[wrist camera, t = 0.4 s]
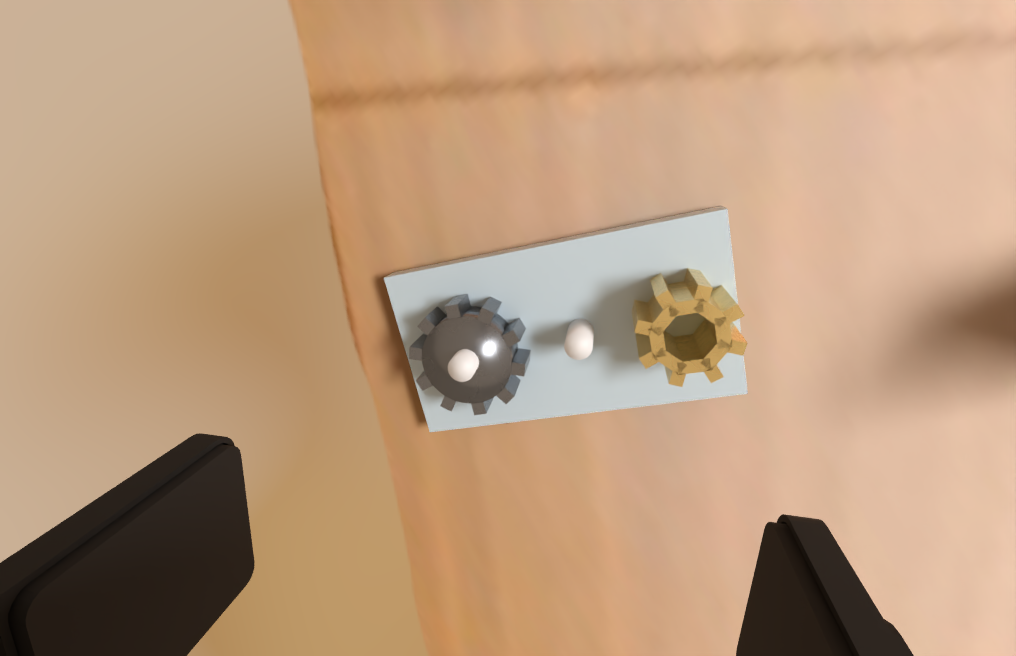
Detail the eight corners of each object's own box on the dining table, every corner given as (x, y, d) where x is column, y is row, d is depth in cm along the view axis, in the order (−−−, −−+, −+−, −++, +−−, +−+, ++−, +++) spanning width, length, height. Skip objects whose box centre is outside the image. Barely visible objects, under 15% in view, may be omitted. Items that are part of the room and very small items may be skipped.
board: (393, 272, 44) (358, 292, 38) (721, 205, 38) (742, 216, 32) (436, 421, 48) (411, 460, 42) (741, 382, 42) (763, 422, 36)
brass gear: (626, 279, 39) (628, 296, 34) (723, 261, 37) (740, 277, 33) (640, 363, 41) (644, 391, 36) (734, 350, 39) (751, 378, 34)
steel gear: (410, 304, 43) (396, 315, 40) (515, 284, 41) (509, 294, 38) (439, 404, 45) (427, 421, 42) (540, 390, 43) (535, 407, 40)
